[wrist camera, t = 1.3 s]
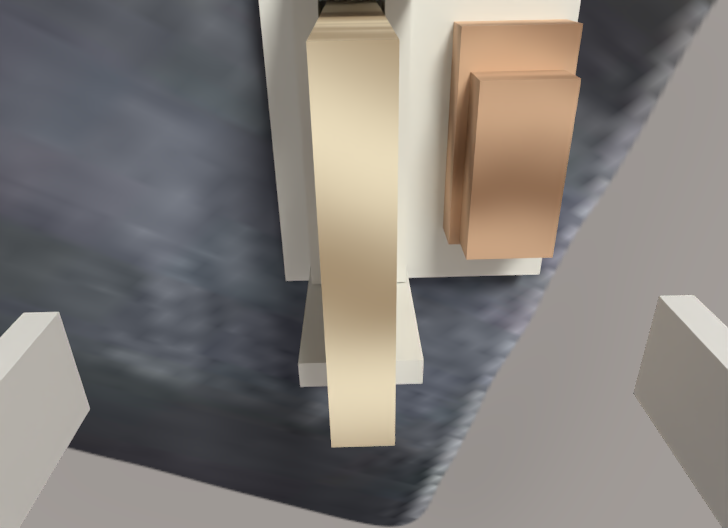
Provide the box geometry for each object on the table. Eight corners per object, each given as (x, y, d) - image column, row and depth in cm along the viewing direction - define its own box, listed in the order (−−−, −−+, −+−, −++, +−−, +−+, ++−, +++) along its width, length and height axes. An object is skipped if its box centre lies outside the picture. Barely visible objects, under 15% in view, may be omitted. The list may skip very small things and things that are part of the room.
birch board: (328, -1, 24) (306, 41, 12) (374, -2, 24) (399, 39, 12) (339, 247, 30) (331, 447, 18) (376, 246, 30) (395, 445, 18)
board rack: (260, -52, 25) (204, -58, 15) (573, -58, 25) (711, -68, 16) (289, 263, 33) (263, 391, 23) (529, 257, 33) (603, 382, 23)
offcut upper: (470, 71, 24) (480, 80, 22) (564, 69, 24) (581, 78, 22) (459, 240, 28) (466, 259, 26) (539, 238, 28) (552, 257, 26)
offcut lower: (453, 21, 25) (461, 26, 23) (566, 19, 25) (583, 23, 23) (442, 227, 30) (448, 244, 28) (537, 225, 30) (549, 241, 28)
